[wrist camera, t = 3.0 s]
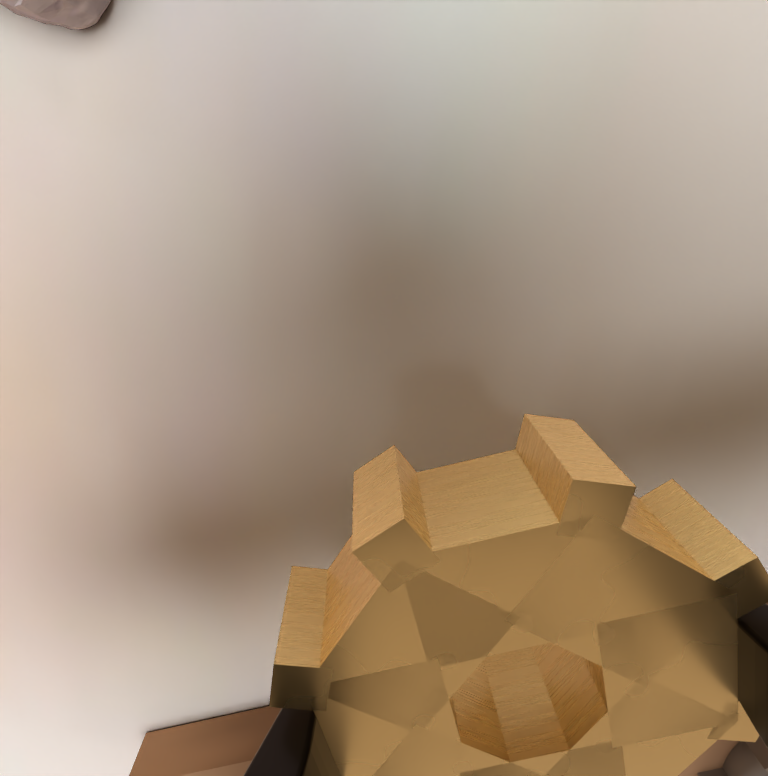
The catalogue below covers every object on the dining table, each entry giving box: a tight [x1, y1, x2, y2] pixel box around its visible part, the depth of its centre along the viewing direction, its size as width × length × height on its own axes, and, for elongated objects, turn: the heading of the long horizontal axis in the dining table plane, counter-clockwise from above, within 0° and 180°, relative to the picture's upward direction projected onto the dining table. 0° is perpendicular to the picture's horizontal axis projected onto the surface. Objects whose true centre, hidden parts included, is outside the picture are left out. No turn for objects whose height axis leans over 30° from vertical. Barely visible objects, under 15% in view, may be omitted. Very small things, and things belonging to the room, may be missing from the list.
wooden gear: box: [269, 414, 768, 776], centre depth 9 cm, size 7×7×2 cm
